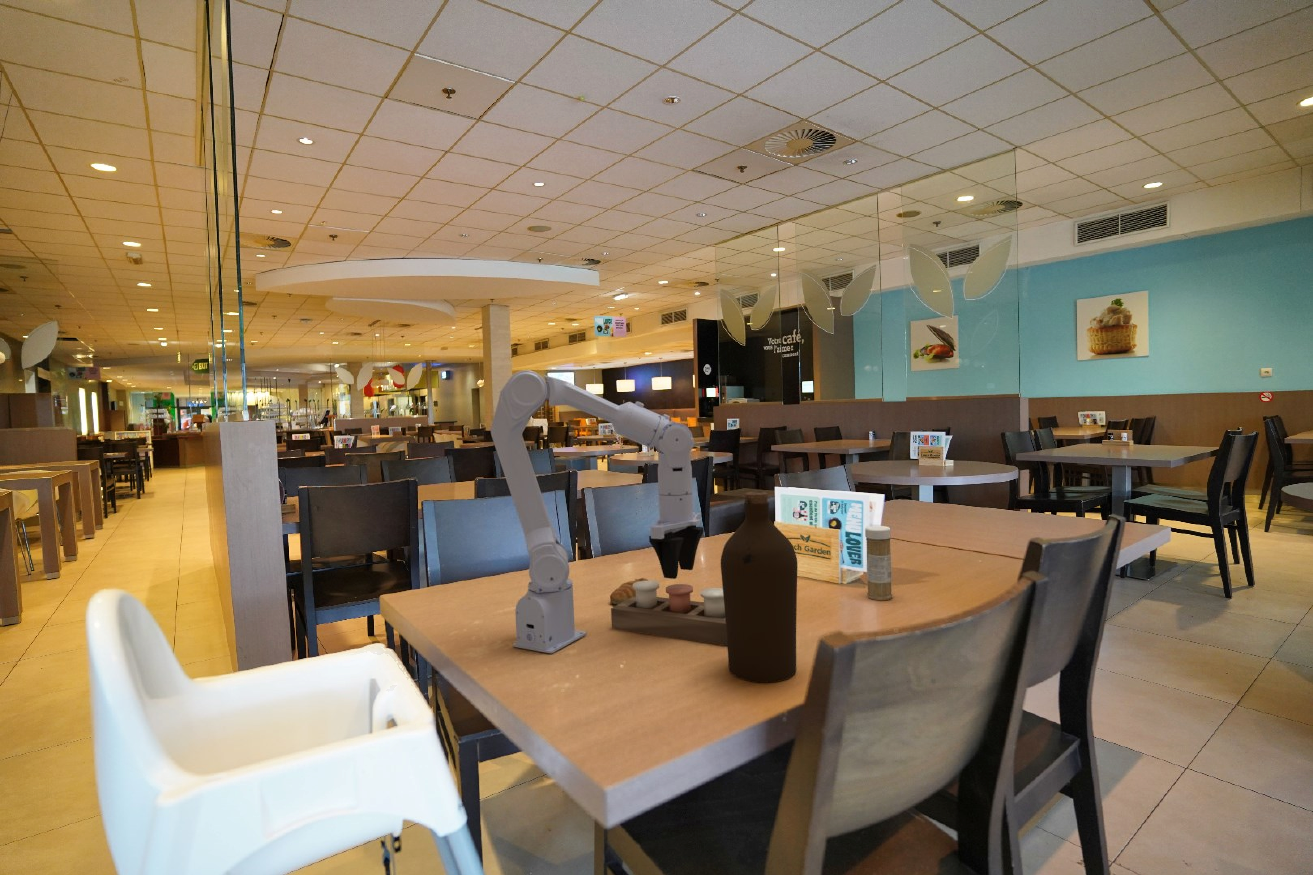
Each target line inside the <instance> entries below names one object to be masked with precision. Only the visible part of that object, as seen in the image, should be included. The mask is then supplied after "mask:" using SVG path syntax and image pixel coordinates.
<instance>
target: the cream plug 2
mask: <svg viewBox="0 0 1313 875" xmlns="http://www.w3.org/2000/svg"><path fill="white" fill-rule="evenodd" d="M700 597H701V598H703V602H704V616H705V617H713V618H724V617H725V608H724V596H723V587H707V588H704V589H702V590H700Z"/></svg>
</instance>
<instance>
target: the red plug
mask: <svg viewBox="0 0 1313 875" xmlns="http://www.w3.org/2000/svg"><path fill="white" fill-rule="evenodd" d="M693 591H694V587H693V585H691V584H688V583H687V584H686V583H674V584H669V585H667V586H666V587H665V593H666V594H668V598H669V610H670V612H674V613H682V614H687V613H689V612H691V602H690V601H691V594H692V593H693Z"/></svg>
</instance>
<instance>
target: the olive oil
mask: <svg viewBox="0 0 1313 875" xmlns="http://www.w3.org/2000/svg"><path fill="white" fill-rule="evenodd" d="M744 498H745V502H744V504H743V505H744V521H743V522H742V523H741V524H740V526H738V528H736V530H735V531H734V533H732V535H731V536H730V537H729V538H728V539H727V541H726V542H725V544H724V545H723V549H722V553H721V556H720V573H721V574H720V575H721V582H722V584H721V585H722V588H723V596H724V608H725V620H726V632H727V660H728V668H729V669H728V670H729V672H730V673H731V674H732V675H733V676H734V677H736V678H739V679H740V678H741V680H743V679H744V680H743V681H748V682H752V681H754V682H753V683H777V682H782V681H785V680H787V679H790V678H791V677H792V676H795V673H796V672H797V607H798V606H797V605H798V604H797V600H798V598H797V597H798V557H797V554H796V550H795V548H794V546H793V544H792V542H791V541H790V540H789V538H788V537H786V535H784V533H782V531H781V530H780V529H779V528H778V527H777V525H775V524H774V523H773V522H772V521H771V520H770V519H771V518H770V502H768V498H769V493H768V492H765V491H747V492H745V493H744Z"/></svg>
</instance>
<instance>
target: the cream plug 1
mask: <svg viewBox="0 0 1313 875" xmlns="http://www.w3.org/2000/svg"><path fill="white" fill-rule="evenodd" d="M659 588H660V582H658V581H655V580H649V581H639V582H636V583H634V584H633V589H634V590H636V606H637V608H643V609H654V608H656V607H657V597H658V595H657V594H658V592H657V590H658V589H659Z"/></svg>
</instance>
